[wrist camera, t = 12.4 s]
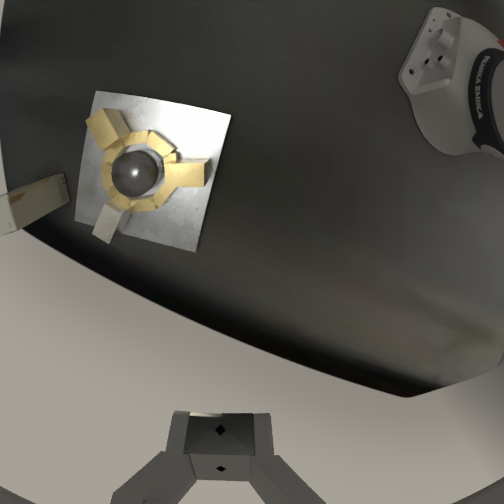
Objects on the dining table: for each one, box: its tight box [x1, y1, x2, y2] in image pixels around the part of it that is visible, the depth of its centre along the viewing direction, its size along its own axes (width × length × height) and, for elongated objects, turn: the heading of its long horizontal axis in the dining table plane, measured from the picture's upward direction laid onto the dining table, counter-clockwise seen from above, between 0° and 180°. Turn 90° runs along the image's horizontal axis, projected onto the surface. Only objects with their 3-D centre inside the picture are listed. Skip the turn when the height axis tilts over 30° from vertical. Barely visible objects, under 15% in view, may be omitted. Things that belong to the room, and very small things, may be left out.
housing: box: [75, 91, 231, 252], centre depth 33 cm, size 17×17×5 cm
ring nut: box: [86, 108, 209, 244], centre depth 32 cm, size 14×15×4 cm
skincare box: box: [0, 173, 70, 236], centre depth 31 cm, size 6×4×12 cm
